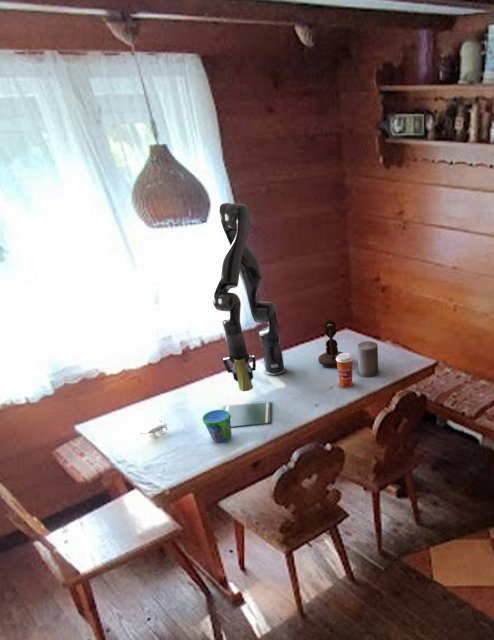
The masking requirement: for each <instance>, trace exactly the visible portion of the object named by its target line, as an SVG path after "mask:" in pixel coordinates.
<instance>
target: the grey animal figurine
mask: <svg viewBox="0 0 494 640" xmlns="http://www.w3.org/2000/svg"><path fill="white" fill-rule="evenodd" d="M167 426H168V424H167V423H166V422H163V421H162V420H160V419H158V424H157V425H154V426H152V427H150V428H149V429H148V430H147V432H144V433H141V432H140V433H139V435H147V434H148V435H152V436H153V437H154V438H157V436H156V435H157V434H156V433H158V432H159V433H161V434H162V435H164V431H163V430H164V429H165V430H166V431H169V430H168V427H167Z"/></svg>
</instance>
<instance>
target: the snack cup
mask: <svg viewBox="0 0 494 640" xmlns="http://www.w3.org/2000/svg"><path fill="white" fill-rule="evenodd" d="M230 418H231V415H230V413H229V412H228V411H226V410H224V409H214V410H210V411H207V412H206V413H205V414H204V415H203V416H202V418H201V420H202V422H203V423H204V425H205V427H206V429H207V432H208V433H209V435H210V437H211V439H212V441H213V442H216V443H225V442H227V441H229V440H230V439H231V438H232V427H231V424H230Z"/></svg>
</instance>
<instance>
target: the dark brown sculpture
mask: <svg viewBox="0 0 494 640" xmlns="http://www.w3.org/2000/svg"><path fill="white" fill-rule="evenodd" d="M323 326H324V334H325V338H324V339H325V340H324V341H325V352H323V353H321V354H320V355H318V357H317V359H318V363H319V364H321V365H322V367H323V368H325V367H326V366H327V367H337V361H336V357H337V356H338V355H339V354H341V353H344V352H343V351H339V348H338V342H337V340H336V339H334V337H335V336H336V334H337V325H336V322H335V321H334V320H332V319H329V320H325V322H324V325H323ZM327 338H328V339H327Z"/></svg>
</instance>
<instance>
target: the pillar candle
mask: <svg viewBox="0 0 494 640" xmlns="http://www.w3.org/2000/svg"><path fill="white" fill-rule="evenodd" d="M356 347H357V363H358V374H359V375H360V376H362V377H366V378H368V377H373V376H377V375H379V372H380V371H379V350H378V349H379V348H378V343H376V342H375V341H371V340H366V341H361V342H358V344H357V345H356Z"/></svg>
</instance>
